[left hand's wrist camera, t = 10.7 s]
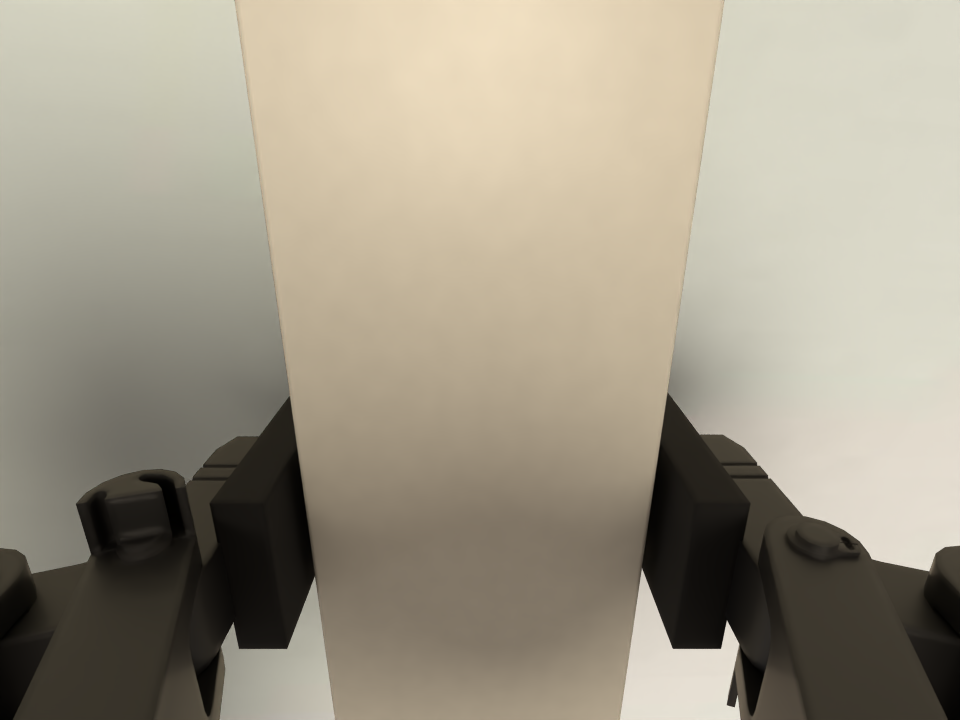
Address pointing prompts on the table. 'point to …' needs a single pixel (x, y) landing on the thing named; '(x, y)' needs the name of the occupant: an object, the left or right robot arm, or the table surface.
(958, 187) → the table surface
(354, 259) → the bar
